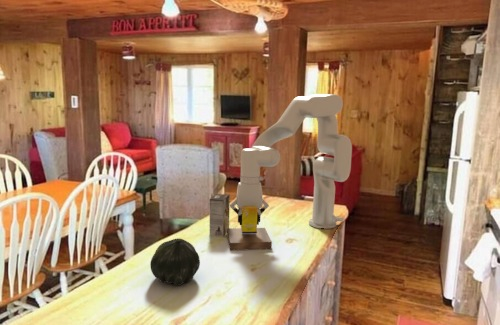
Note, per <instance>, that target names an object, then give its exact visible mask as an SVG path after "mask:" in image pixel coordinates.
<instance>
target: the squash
mask: <svg viewBox="0 0 500 325" xmlns="http://www.w3.org/2000/svg"><path fill="white" fill-rule="evenodd" d="M200 265H201V261H200V255H199V254H198V252H197V250H196V248H195V247H194V245H193V244H192V243H191V242H189V241H187V240H185V239H184V238H173V239H171V240H167V241H165V242H163V243H161V244H160V245H158V246H157V248H156V250H155V252H154V254H153V255H152V257H151V259H150V271H151V274H152V275H153V276H154V277H155V279H158V280H159V281H160V282H161V283H167V284H172V283H173V284H174V285H176V286H181V285H182V284H187V283H189V282H190V281H191V280H192V279H193V278H194V276H195V275H196V273H197V272H198V270H199V268H200Z"/></svg>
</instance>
